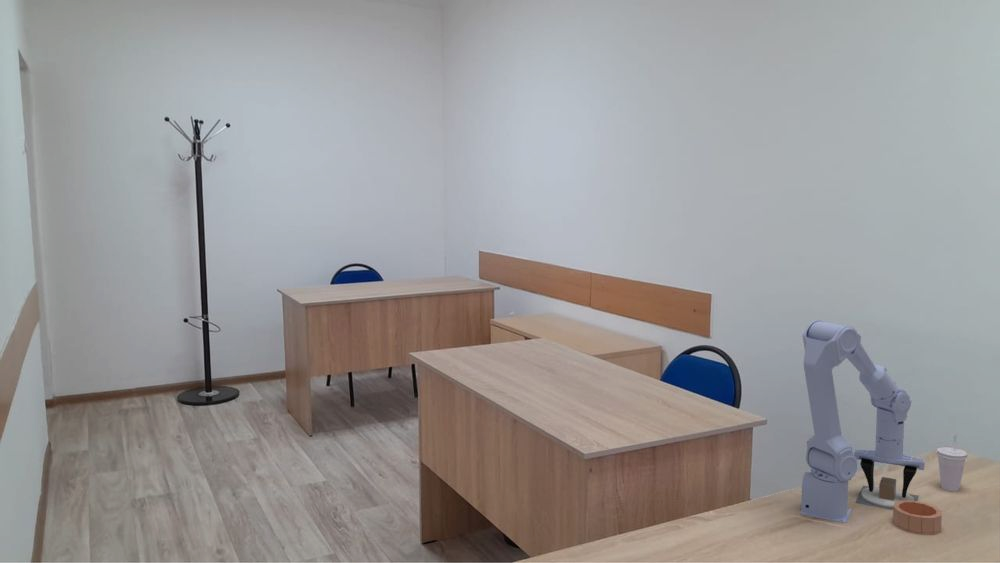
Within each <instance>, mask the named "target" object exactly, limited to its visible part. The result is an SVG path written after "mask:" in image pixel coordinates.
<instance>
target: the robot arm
mask: <svg viewBox="0 0 1000 563" xmlns="http://www.w3.org/2000/svg"><path fill="white" fill-rule="evenodd" d="M861 340H862V336H861V334H860V333H858V332H857V330H856V328H855V327H854V326H852V325H848V324H847V325H844V324H840V323H839V324H838V323H833V322H827V321H822V320H819V319H815V320H813V321H811V322H810V323H809V324H808V326H807V327H806V329H805V330H804V332H803V333H802V341H803V346H804V347H803V348H804V357H803V358H804V359H803V370H804V374H805V375H804V376H805V381H806V388H807V394H808V401H809V408H810V413H811V420H812V428H813V434H814V435H812V436H811V437H810V438H808V440H806V447H807V448H806V453H805V462H806V464H807V466H808V467H809V468H810V472H809V471H804V474H803V477H802V481H801V502H800V503H801V505H800V506H801V508H800V510H801V511H800V514H801V515H804V516H808V517H814V518H817V519H824V520H828V521H833V522H836V523H842V524H847V522H848V520H849V518H850V516H851V514H852V508H848V502H849V501H848V499H849V481H851V480H852V479H853V477H854V476H855V475H856V472H857V470H858V461H859V460H860V465H859V466H860V468H861V469H862V471H863V473H864V476H865V478H866V482H867V486H868V487H869V491H870V492H873V489H874V487H875V483H874V482H875V480H874V470H875V467H874V466H875V462H876V463H881V464H887V465H894V466H900V467H904V468H903V470H902V471H903V472H902V477H903V479H902V480H903V482H902V483H903V484H902V490H901V491H902V497H903V498H906V493H907V492H908V488H909V485H910V484H911V482H912V480H913V478H914V477H915V475H916V474H917V470H919V471H924V470H925V466H926V465H925V462H926V460H925V459H921V458H916V457H912V456H909V455H906V454H904V434H905V433H904V432H905V429H904V428H905V421H906V420H907V418H908V412H909V410H910V408H911V405H912V400H911V396H910V395H909V394H908V393H907V391H905V390H904V389H901V388H899V387H898V385H897V383H896V381H895V380H893V379H892V377H891V376H890V375H889V374H888V369H887V368H886V366H882V365H879V364H874V362H873V360H872V359H871V357H870V356H869V354H868V353H867V351H866V349H865V348H864V347H863V345H862V342H861ZM846 359H847V360H848V361H849V362H850V363H851V364H852V366H853V367H854V368H855V369H856V370H857V371H858V372H859V377H858V379H859V381H860V383H861V385H863V387H864V388H865V389H866V390H867V391H868V393H869V395H870V404H871V406H873V407H874V408H876V421H875V422H876V423H875V424H876V426H875V448H874V449H875V450H868V449H858V448H857V449H854V452H853V447H852V446H851V444H850V443H849V442H848V440H846V438H845V437H844V436H843V434H842V430H841V423H840V416H839V410H838V404H837V396H836V389H835V383H834V377H833V369H834V367H838V366H840V365H841V364H842V363H843V362H844V361H845V360H846Z"/></svg>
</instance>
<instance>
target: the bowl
mask: <svg viewBox="0 0 1000 563" xmlns="http://www.w3.org/2000/svg"><path fill="white" fill-rule="evenodd" d="M942 517H943V512H942V510H941V509H940V508H938V507H937V506H935V505H933V504H930V503H927V502H923V501H919V500H918V501H912V500H901V501H898V502H895V503H894V506H893V510H892V522H893V524H894V525H895V526H896V527H898V528H899V529H901V530H904V531H906V532H909V533H913V534H918V535H935V534H938V533H941V530H942V523H943V522H942V520H943V518H942Z"/></svg>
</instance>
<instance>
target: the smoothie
mask: <svg viewBox="0 0 1000 563" xmlns="http://www.w3.org/2000/svg"><path fill="white" fill-rule="evenodd" d="M957 436H958V435H957V434H955V433H954V434H953V446H952V447H948V446H946V447H939V448H938V447H937V449H936V451H935V452H936V455H937V456H938V457H937V459H938V468H939V478H940V487H941V489H942V490H944V491H948V492H959V491H960V489H961V488H960V487H961V482H962V479H963V475H964V474H963V473H964V468H965V463H966V459H968V453H967V451H965V450H963V449H959V448H957Z"/></svg>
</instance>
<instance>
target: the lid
mask: <svg viewBox="0 0 1000 563" xmlns="http://www.w3.org/2000/svg"><path fill="white" fill-rule="evenodd" d="M909 494H910V493H906V498H903V497H902V490H900V489H897V478H891V477H886V476H885V477H884V476H882V477H881V479H880V482H879V486H874V489H873V492H870V491H869V488H865V489H863V490H862V492H861V496H862V498H863V499H864V500H866V501H867V502H869V503H871V504H874V505H877V506H881V507H886V508H893V506H894V503H895V502H898V501H901V500H912V501H914V498H913V497H912V496H911V495H909Z"/></svg>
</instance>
